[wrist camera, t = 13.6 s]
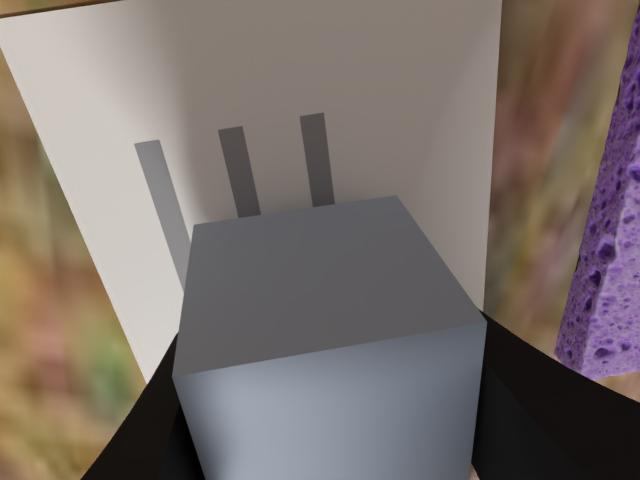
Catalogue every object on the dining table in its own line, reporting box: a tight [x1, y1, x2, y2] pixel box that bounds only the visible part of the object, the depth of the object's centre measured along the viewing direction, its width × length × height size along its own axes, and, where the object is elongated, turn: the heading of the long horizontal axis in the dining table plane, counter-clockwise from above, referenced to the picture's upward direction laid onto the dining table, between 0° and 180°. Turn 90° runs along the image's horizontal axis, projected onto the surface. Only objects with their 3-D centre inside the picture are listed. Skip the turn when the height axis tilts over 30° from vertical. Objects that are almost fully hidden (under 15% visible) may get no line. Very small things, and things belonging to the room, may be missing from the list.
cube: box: [172, 195, 487, 480], centre depth 11 cm, size 5×5×5 cm
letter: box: [0, 0, 502, 384], centre depth 14 cm, size 15×11×1 cm
